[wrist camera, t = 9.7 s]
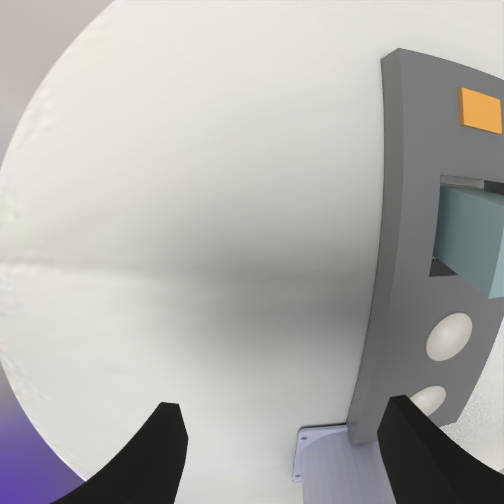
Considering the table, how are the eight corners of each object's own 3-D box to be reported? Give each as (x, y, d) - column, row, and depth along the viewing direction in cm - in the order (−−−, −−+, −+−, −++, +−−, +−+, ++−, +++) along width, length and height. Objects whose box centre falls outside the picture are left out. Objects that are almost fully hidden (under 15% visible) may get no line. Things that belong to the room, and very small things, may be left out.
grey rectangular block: (469, 247, 17) (540, 293, 10) (422, 247, 17) (492, 301, 10) (476, 187, 15) (557, 214, 8) (428, 182, 15) (510, 208, 9)
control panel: (445, 403, 21) (457, 424, 19) (346, 422, 22) (352, 448, 19) (505, 93, 13) (532, 90, 10) (380, 59, 13) (401, 45, 11)
